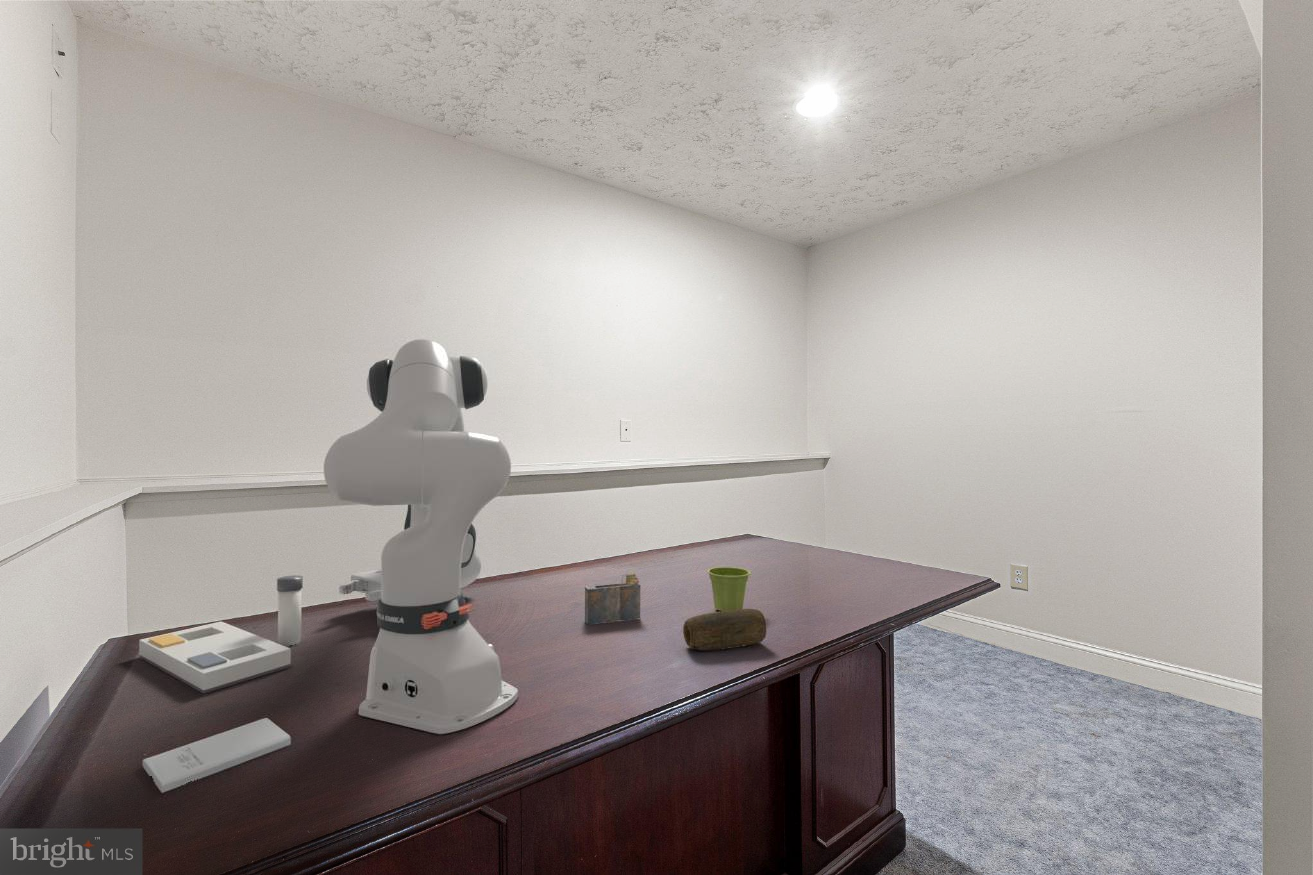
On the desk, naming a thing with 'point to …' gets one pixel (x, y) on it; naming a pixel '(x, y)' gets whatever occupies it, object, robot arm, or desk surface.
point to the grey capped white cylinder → (289, 609)
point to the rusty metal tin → (613, 601)
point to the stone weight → (725, 629)
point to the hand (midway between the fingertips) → (353, 593)
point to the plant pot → (728, 587)
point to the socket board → (214, 655)
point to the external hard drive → (215, 754)
